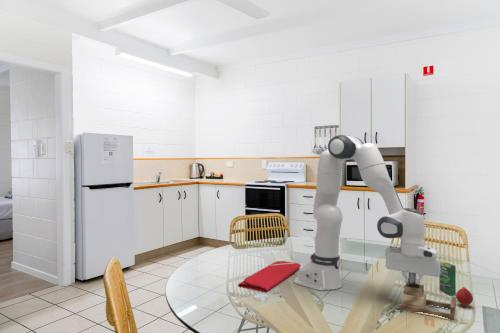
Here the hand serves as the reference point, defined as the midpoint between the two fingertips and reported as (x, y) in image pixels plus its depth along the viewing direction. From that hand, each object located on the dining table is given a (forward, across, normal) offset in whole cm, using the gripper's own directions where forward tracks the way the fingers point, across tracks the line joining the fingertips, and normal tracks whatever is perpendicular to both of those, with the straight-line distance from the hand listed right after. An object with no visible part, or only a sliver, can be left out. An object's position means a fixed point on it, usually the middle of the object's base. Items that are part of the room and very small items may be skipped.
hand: (412, 283), depth 144 cm
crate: (+9, +1, 0) cm, 9 cm away
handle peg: (+4, 0, 0) cm, 4 cm away
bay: (+9, +5, 0) cm, 11 cm away
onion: (+10, +18, +12) cm, 24 cm away
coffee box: (+10, +11, +26) cm, 30 cm away
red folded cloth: (+10, -65, +2) cm, 66 cm away
